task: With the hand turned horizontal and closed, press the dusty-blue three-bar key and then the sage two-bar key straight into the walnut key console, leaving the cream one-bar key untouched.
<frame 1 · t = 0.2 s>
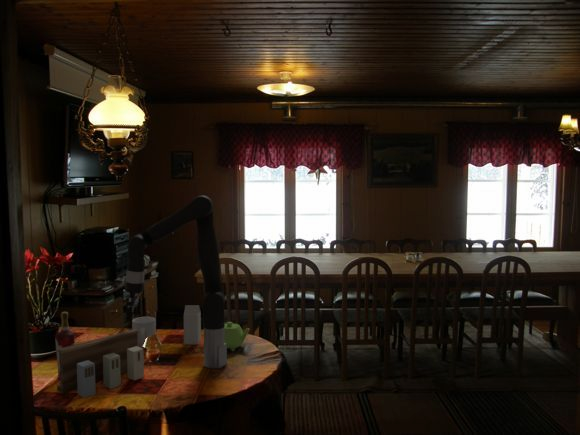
hand: (131, 316, 207), 22 cm above the table, tool pointing down, fingers open, 8 cm apart
liquor: (66, 380, 195), on the table
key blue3: (86, 378, 181), point 6 cm above the table, slide at 0.0 cm
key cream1: (135, 363, 197), point 6 cm above the table, slide at 0.0 cm
milk carton: (192, 342, 241), on the table
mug: (144, 346, 235), on the table
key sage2: (112, 370, 189), point 6 cm above the table, slide at 0.0 cm
backboard: (101, 380, 195), on the table
teapot: (229, 347, 234), on the table
soda can: (114, 362, 214), on the table
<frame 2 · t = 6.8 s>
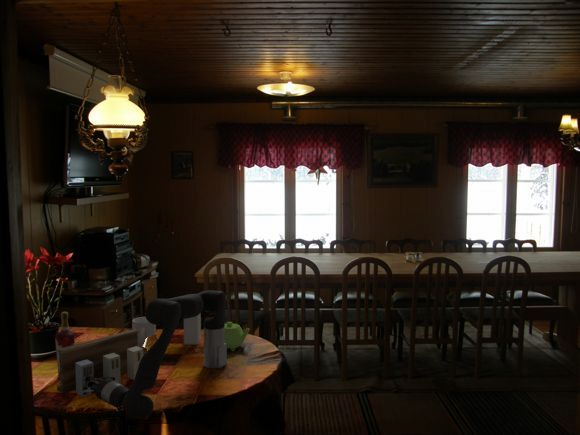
hand: (87, 379, 180), 6 cm above the table, tool horizontal, fingers closed
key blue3: (84, 378, 181), point 6 cm above the table, slide at 1.2 cm, touching gripper
everything else where it was.
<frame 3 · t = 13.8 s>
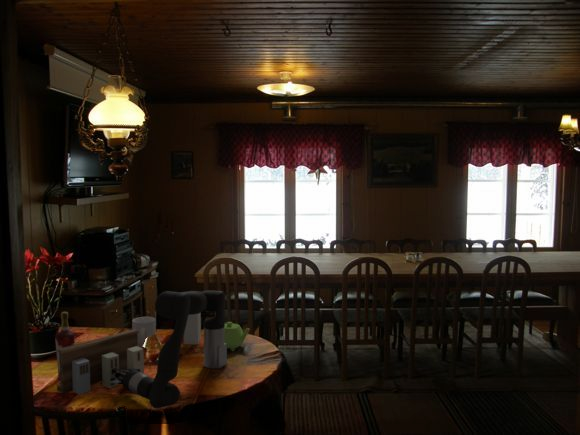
hand: (113, 370, 188), 6 cm above the table, tool horizontal, fingers closed
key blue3: (81, 376, 183), point 6 cm above the table, slide at 4.0 cm
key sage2: (110, 370, 189), point 6 cm above the table, slide at 0.9 cm, touching gripper
everything else where it was.
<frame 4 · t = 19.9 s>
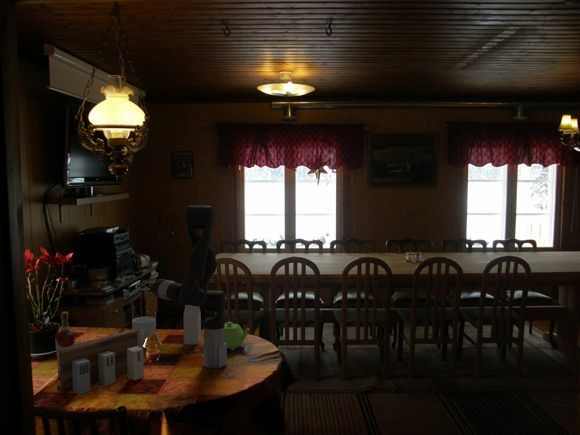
hand: (142, 283, 201), 38 cm above the table, tool horizontal, fingers closed
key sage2: (106, 368, 191), point 6 cm above the table, slide at 4.0 cm
everything else where it was.
at the end: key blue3 slide at 4.0 cm; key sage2 slide at 4.0 cm; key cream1 slide at 0.0 cm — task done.
